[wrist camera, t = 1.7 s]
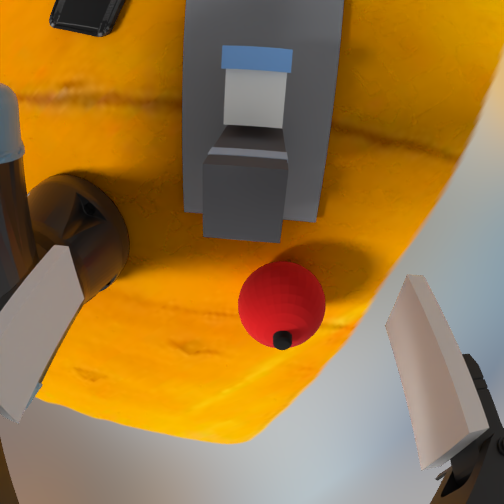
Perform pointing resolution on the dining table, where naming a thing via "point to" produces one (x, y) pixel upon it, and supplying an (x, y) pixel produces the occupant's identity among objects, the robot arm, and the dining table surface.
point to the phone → (86, 16)
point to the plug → (245, 184)
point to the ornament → (281, 304)
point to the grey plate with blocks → (261, 86)
